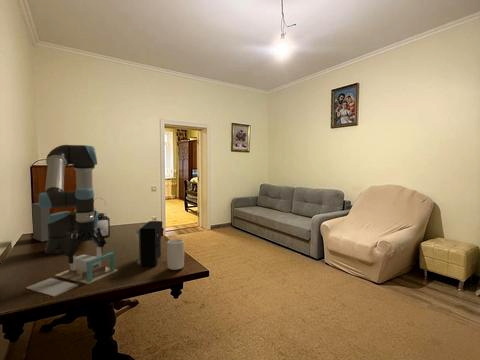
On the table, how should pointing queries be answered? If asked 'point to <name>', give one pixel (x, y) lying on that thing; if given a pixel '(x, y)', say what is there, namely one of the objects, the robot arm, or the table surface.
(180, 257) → the white can
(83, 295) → the table surface
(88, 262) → the teal arch
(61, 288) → the mat
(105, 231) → the lantern
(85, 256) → the white brown box
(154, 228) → the electrical component
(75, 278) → the clamp base
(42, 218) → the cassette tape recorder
